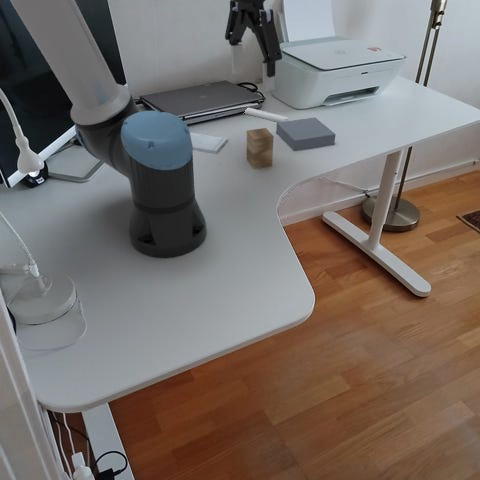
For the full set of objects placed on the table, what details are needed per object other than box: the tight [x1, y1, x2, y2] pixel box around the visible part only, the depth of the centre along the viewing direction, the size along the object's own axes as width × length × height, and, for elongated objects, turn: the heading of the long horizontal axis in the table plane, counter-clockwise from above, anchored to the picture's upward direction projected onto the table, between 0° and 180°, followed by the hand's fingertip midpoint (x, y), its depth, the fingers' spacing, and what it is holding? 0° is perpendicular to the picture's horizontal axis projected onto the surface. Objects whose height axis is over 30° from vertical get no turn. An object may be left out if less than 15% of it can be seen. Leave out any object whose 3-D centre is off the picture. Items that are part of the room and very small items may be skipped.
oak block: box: [246, 127, 274, 169], centre depth 112 cm, size 5×5×8 cm
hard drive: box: [190, 132, 229, 155], centre depth 122 cm, size 2×8×12 cm
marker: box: [243, 107, 292, 123], centre depth 136 cm, size 18×2×2 cm, turn 57°
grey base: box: [275, 116, 336, 152], centre depth 124 cm, size 12×12×3 cm
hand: (252, 81), depth 106 cm, fingers open, 13 cm apart
